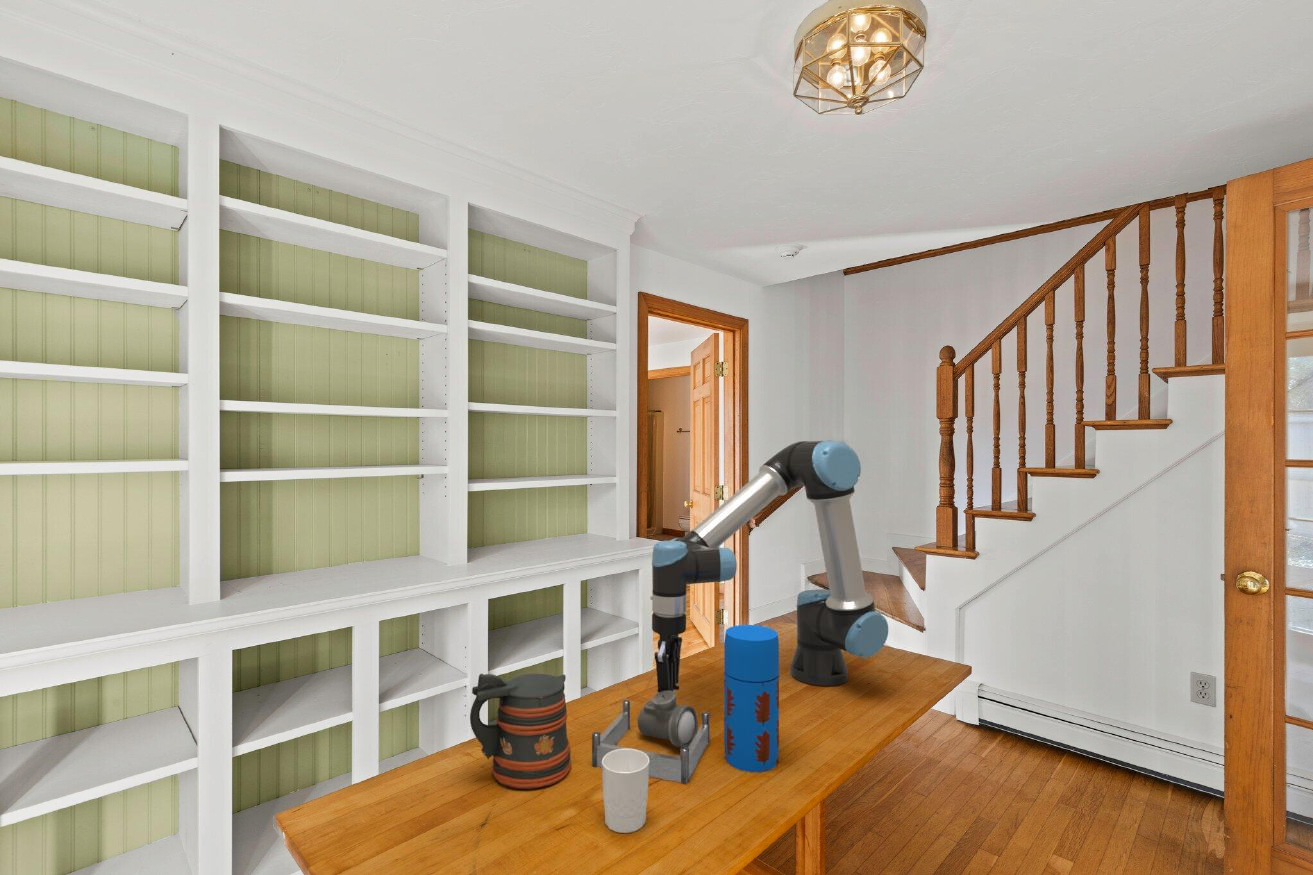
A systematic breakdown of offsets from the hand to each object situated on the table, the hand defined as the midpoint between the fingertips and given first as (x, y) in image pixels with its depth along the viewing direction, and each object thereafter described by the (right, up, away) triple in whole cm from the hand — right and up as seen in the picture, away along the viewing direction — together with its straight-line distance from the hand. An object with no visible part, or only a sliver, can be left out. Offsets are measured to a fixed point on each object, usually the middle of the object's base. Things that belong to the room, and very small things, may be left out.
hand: (668, 720), depth 132 cm
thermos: (+16, -2, -12) cm, 20 cm away
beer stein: (-28, -2, -18) cm, 33 cm away
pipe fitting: (0, -2, -4) cm, 5 cm away
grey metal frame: (-3, -2, -9) cm, 10 cm away
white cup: (-8, -2, -32) cm, 33 cm away
